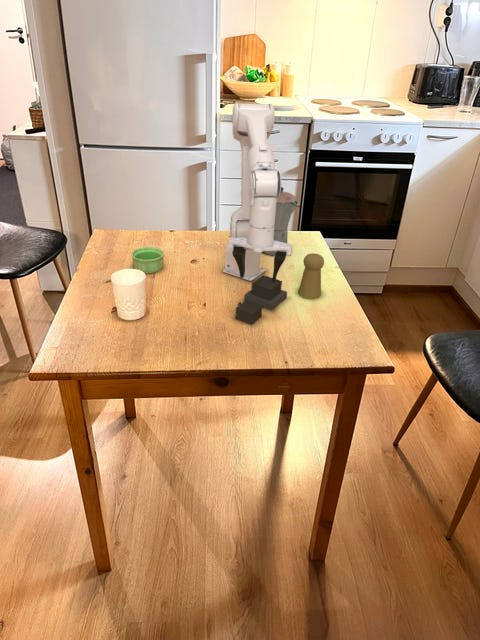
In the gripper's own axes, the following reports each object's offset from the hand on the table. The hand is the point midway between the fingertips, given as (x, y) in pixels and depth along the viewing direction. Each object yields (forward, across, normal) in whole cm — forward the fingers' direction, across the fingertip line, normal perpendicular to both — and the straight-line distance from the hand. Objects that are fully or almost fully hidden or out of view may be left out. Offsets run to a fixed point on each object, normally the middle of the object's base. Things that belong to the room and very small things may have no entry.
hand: (258, 278), depth 119 cm
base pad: (+9, +2, +6) cm, 11 cm away
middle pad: (+7, +2, +6) cm, 9 cm away
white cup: (+9, -29, -9) cm, 32 cm away
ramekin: (+9, -33, +15) cm, 38 cm away
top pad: (+9, -1, -4) cm, 10 cm away
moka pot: (+9, -1, +37) cm, 38 cm away
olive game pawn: (+9, +12, +12) cm, 20 cm away
